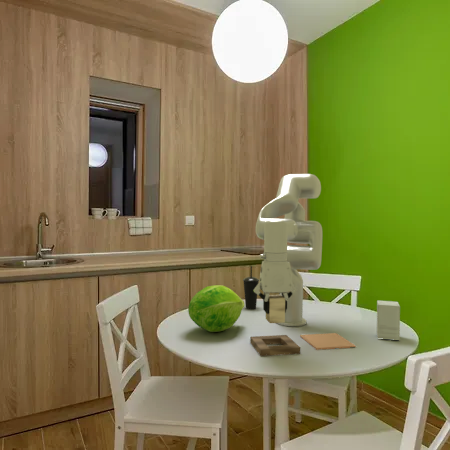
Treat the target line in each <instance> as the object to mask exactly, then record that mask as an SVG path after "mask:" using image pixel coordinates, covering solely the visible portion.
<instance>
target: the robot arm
mask: <svg viewBox="0 0 450 450" xmlns="http://www.w3.org/2000/svg"><path fill="white" fill-rule="evenodd" d="M321 192H322V185H321V181H320V179H319V178H318V176H316V175H315V174H314V173H313V174H311V173H290V174H289V173H288V174H285V175H284V176H282V177H281V178H280V182H279V183H278V189H277V192H276V195H275V198H274V199H272V200H271V201H269V202H268V203H266V205H264V206H263V207H262V208H261V209H260V211H259V213H258V216H257V220H256V222H255V235H256V237H257V238H258V239H260V240H263V241H264V242H263V246H264V248H263V253H262V254H259V258H260V259H263V260H262V261H261V266H260V273H259V282H258V285H257V286H256V287H255V289H254V290H253V291H254V292H255V293H256V294H257V296H259V297H260V298H261V299H262V300H263V303H262V304H263V311H264V312H265V314H266V313H267V314H269V301H268V298H269V295H271V294H278V295H281V296H283V297H284V298H285V322H284V323H276V324H278V325H281V326H285V327H301V326H302V327H303V326H305V325H306V324H307V320H306V318H304V317H303V312H304V311H303V305H304V304H303V303H304V302H303V301H304V300H303V299H304V298H303V297H304V281H303V277H302V275H301V274H300V272H299V271H298V270H311V271H313V270H315V271H316V270H318V269H319V268H320V267H321V265H322V254H323V253H322V252H323V227H322V224H321V223H320V222H319V221H316V220H306V219H305V218H306V209H305V208H304V207H303V204H301V203H300V202H299V200H300V199H317V198H319V196H320V195H321ZM281 216H284V217H283V218H278V217H281ZM288 243H290V244H288ZM295 244H297V245H295ZM299 244H300V245H299ZM301 244H304V245H301ZM261 291H262V292H261Z"/></svg>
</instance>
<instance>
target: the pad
mask: <svg viewBox="0 0 450 450" xmlns="http://www.w3.org/2000/svg"><path fill="white" fill-rule="evenodd" d="M299 337H300V338H301V339H303V340H304V341H305V342H306V343H308V344H309V345H310V347H312V348H313V349H315V350H316V351H318V350H321V349H322V350H335V348H339V349H350V347H356V348H357V345H355V344H354V343H353V342H351V341H349V340H347V339H346V338H345V337H343V336H342V335H340V334H338V332H333V333H332V332H330V333H328V332H327V333H314V334H313V333H312V334H300V335H299Z"/></svg>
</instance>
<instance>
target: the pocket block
mask: <svg viewBox="0 0 450 450" xmlns="http://www.w3.org/2000/svg"><path fill="white" fill-rule="evenodd" d="M249 342H250V344H251V345H252V346H253V348H254V349H255V350H256V352H257V353H258V355H259V356H260V357H267V356H268V357H269V356H271V357H272V356H283V355H285V356H286V355H300V354H301V347H300V345H298V343H296V341H295V340H293V339H291V338H290V337H289V335H287V334H281V335H280V334H279V335H278V334H277V335H261V336H260V335H259V336H256V335H255V336H250V339H249Z"/></svg>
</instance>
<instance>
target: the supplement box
mask: <svg viewBox="0 0 450 450" xmlns="http://www.w3.org/2000/svg"><path fill="white" fill-rule="evenodd" d="M400 315H401V306H400V304H399V302H398V301H392V300H377V301H376V336H377V337H376V338H377V339H378V338H383V339H394V340H399V341H400V338H401V337H400V336H401V335H400V330H401V329H400V325H401V319H400V318H401V316H400Z"/></svg>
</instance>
